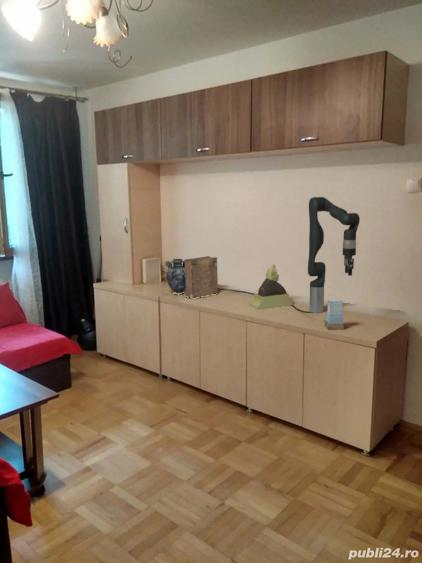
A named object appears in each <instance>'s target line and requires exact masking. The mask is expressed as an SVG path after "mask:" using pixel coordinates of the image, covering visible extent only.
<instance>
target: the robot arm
mask: <svg viewBox="0 0 422 563" xmlns="http://www.w3.org/2000/svg"><path fill="white" fill-rule="evenodd" d="M319 212H325V213H329V215H330V216H331V218H333V219H335V220H337V221H339V223H340V224H341V225H343V226H348V228H347V229H345V230H344V231H343V240H342V256H343V257H344V258H343V259H344V260H343V265H344V273H345V274H347V276H353V269H354V265H355V262H354V261H355V259H354V258H353V257H354V256H356V254H357V231H358V228H359V225H360V221H361V218H360V215H359V214H358V212H357V213H356V212H349V213H348V212H347V210H346V209H344V208H342V207H339V206H337V205H336V204H334V203H332V202H331V201H330V200H329V199H328V198H325V197H324V196H315V197H314V196H313V197H311V198H310V199H309V201H308V215H309V216H308V217H309V219H308V220H309V235H308V236H309V239H308V241H309V242H308V248H309V249H308V251H309V252H308V260H307V261H308V262H307V275H308V276H309V277H316V278H315V279H314V280H313V279H312V280H311V281H310V282H309V312H310V313H313V314H314V313H315V314H321V313H324V308H325V282H326V271H327V270H326V264H325V262H324V261H317V262H316V258H317V255H318V253H319V251H320V249H321V248H322V247H323V244H324V241H325V233H324V229H323V227H322V225H321V224H320V221H319V219H318V218H319V217H318V216H319V214H318V213H319Z"/></svg>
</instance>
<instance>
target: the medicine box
mask: <svg viewBox="0 0 422 563" xmlns="http://www.w3.org/2000/svg"><path fill="white" fill-rule="evenodd" d="M343 312H344V301H342V300H341V299H337V300H334V299H333V300H331V299H330V300H327V314H328V315H329V316H343V317H344V315H343Z"/></svg>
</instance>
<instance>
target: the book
mask: <svg viewBox="0 0 422 563" xmlns="http://www.w3.org/2000/svg"><path fill="white" fill-rule="evenodd" d="M184 260H185V259H184ZM218 280H219V279H218V257H216V256H215V257H211V256H209V255H208V256H202V257H201V256H200V257H194V258H186V260H185V285H186V289H185V297H186V296H188V297H192V298H196V297H201V296H206V295H211V294H216V293H218V294H219V290H218V289H219V286H218V284H219V283H218Z"/></svg>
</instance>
